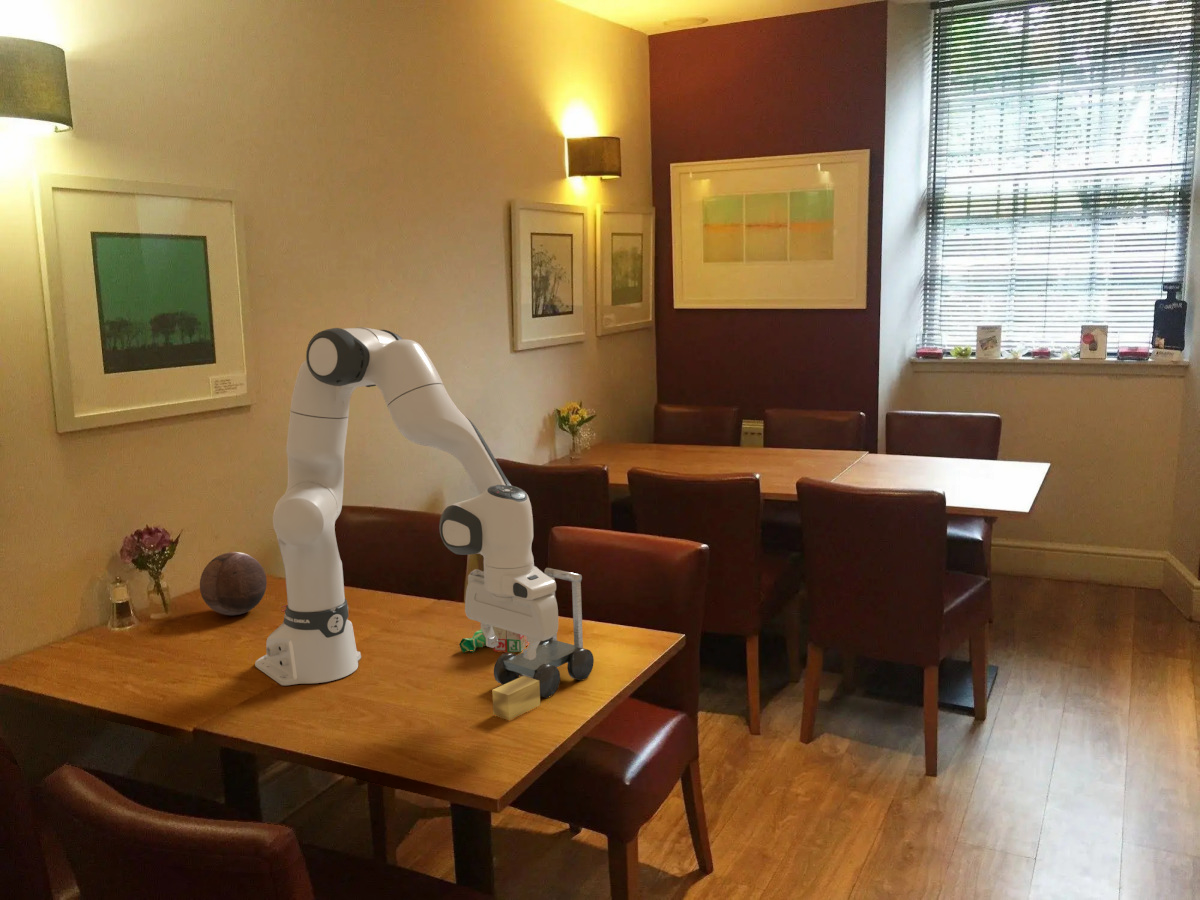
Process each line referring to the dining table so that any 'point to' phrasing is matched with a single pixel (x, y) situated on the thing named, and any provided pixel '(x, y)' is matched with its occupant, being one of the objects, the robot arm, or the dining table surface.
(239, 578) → the wooden sphere
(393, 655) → the dining table surface
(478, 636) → the candy
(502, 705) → the block
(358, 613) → the dining table surface
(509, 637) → the stack of blocks
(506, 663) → the trolley
